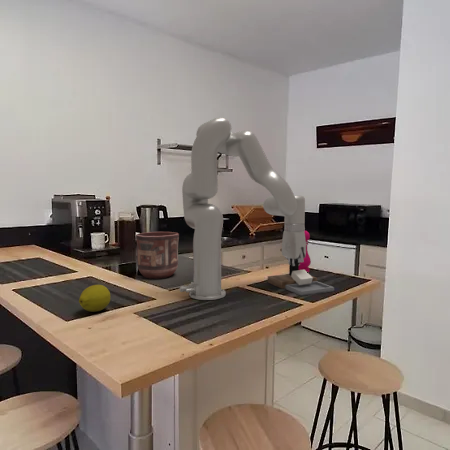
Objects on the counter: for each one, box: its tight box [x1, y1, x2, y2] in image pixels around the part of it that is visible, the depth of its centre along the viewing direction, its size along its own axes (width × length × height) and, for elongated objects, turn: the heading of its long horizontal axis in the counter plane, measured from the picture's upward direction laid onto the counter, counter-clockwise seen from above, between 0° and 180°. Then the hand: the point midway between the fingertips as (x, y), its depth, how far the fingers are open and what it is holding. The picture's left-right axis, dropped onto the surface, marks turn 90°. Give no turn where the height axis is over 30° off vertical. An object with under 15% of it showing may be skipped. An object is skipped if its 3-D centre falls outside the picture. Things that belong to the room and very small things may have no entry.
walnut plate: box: [267, 273, 318, 289], centre depth 146 cm, size 16×10×2 cm, turn 114°
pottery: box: [135, 231, 180, 280], centre depth 160 cm, size 18×18×18 cm
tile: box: [291, 270, 313, 285], centre depth 141 cm, size 6×6×2 cm
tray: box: [284, 280, 335, 297], centre depth 136 cm, size 14×10×2 cm
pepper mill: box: [299, 230, 312, 273], centre depth 166 cm, size 7×7×20 cm
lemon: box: [78, 284, 112, 313], centre depth 113 cm, size 11×8×8 cm
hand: (293, 275), depth 145 cm, fingers closed
